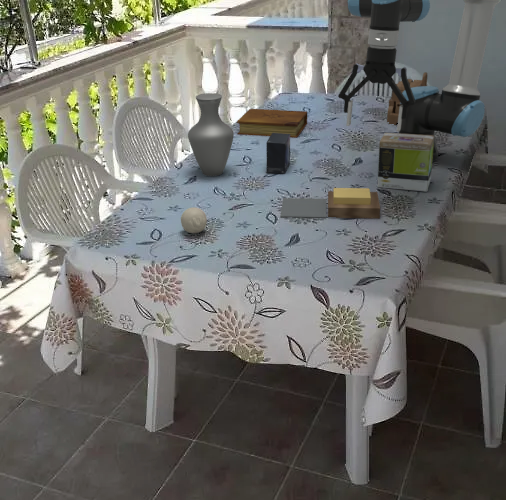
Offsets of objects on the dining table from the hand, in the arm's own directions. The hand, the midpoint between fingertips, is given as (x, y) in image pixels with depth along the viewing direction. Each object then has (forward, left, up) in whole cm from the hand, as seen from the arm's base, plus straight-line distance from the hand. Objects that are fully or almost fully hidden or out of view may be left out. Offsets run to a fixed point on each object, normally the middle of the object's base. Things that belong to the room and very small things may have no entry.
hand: (373, 127), depth 187 cm
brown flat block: (+5, +4, -22) cm, 23 cm away
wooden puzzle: (-20, -88, -23) cm, 93 cm away
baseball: (+47, +21, -23) cm, 56 cm away
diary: (+33, -73, -23) cm, 83 cm away
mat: (+19, +4, -22) cm, 29 cm away
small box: (+28, -29, -23) cm, 46 cm away
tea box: (-11, -16, -23) cm, 30 cm away
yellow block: (+5, +4, -19) cm, 20 cm away
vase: (+49, -24, -23) cm, 59 cm away
